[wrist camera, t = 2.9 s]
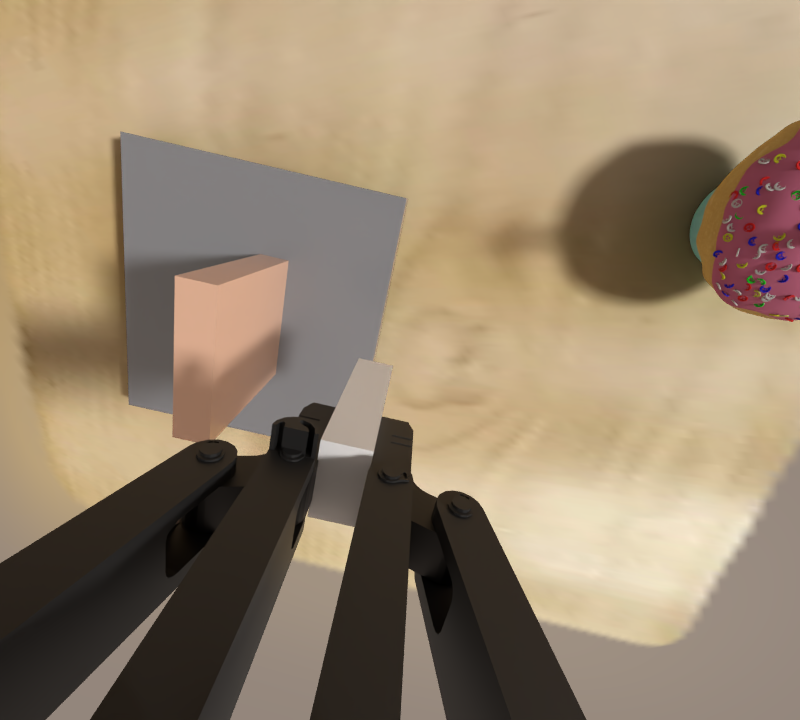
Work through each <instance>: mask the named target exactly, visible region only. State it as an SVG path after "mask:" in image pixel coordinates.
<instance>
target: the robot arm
mask: <svg viewBox="0 0 800 720" xmlns="http://www.w3.org/2000/svg"><path fill="white" fill-rule="evenodd" d="M392 368H393V366H392V365H387V364H383V363H379V362H374V361H370V360H365V359H361V358H359V359H358V361H357V363H356V365H355V367H354V370H353V372H352V374H351V376H350V378H349V380H348V382H347V385H346V387H345V389H344V391H343V393H342V395H341V397H340V400H339V402H338V404H337V406H336V407H332V406H328V405H323V404H319V403H314V402H313V403H311V404H309V405H308V406H306V407H304V408H303V410H302V411H301V413H300V414H299V417H284V418H281V419H278V420H276V421H275V422H274V423H273V424H272V430H271V438H270V447H269V450H268V452H267V453H266V454H263V455H258V456H237V449H236V448H235V446H234V445H232V444H230V443H229V442H226V441H222V440H204V441H199V442H196V443H194V444H192V445H190V446H188V447H187V448H185V449H183V450H182V451H180V452H179V453H177V454H175V455H174V456H172V457H170V458H169V459H167V460H166V461H164V462H162V463H161V464H159V465H158V466H156V467H154V468H153V469H151V470H150V471H148V472H146V473H145V474H143V475H142V476H140V477H138V478H137V479H135V480H134V481H132V482H130V483H129V484H127V485H125V486H124V487H122V488H121V489H119V490H117V491H116V492H114V493H113V494H111V495H109V496H108V497H106V498H105V499H103V500H101V501H100V502H98V503H97V504H95V505H93V506H92V507H90V508H88V509H87V510H85V511H84V512H82V513H81V514H79V515H77V516H76V517H74V518H72V519H71V520H69V521H68V522H66V523H65V524H63V525H61V526H60V527H58V528H56V529H55V530H53V531H51V532H50V533H48V534H47V535H45V536H43V537H42V538H40V539H39V540H37V541H35V542H34V543H32V544H31V545H29V546H28V547H26V548H24V549H23V550H21V551H19V552H18V553H16V554H14V555H13V556H11V557H10V558H8V559H7V560H5V561H3V562H2V563H0V720H46V719H47V718H48V717H49V716H50V715H51V714H52V713H53V712H54V711H55V710H56V709H57V708H58V707H59V706H60V705H61V703H63V702H64V700H66V699H67V698H68V697H69V696H70V695H71V694H72V692H74V691H75V689H77V688H78V687H79V685H80V684H82V682H83V681H85V679H86V678H87V677H88V676H89V675H90V674H91V673H92V672H93V671H94V670H95V669H96V668H97V667H98V666H99V665H100V664H101V663H102V662H103V661H104V660H105V659H106V658H107V657H108V656H109V655H110V654H111V653H112V652H113V651H114V650H115V649H116V648H117V647H118V646H119V645H120V644H121V643H122V642H123V641H124V640H125V639H126V638H127V637H128V636H129V635H130V634H131V633H132V632H133V631H134V630H135V629H136V628H137V627H138V626H139V625H140V624H141V623H142V622H143V621H144V620H145V619H146V618H147V617H148V616H149V615H150V614H151V613H152V612H153V611H154V610H155V609H156V608H157V607H158V606H159V605H160V604H161V603H162V602H163V601H164V600H165V599H166V598H167V597H168V596H169V595H170V594H171V593H172V592H173V591H174V590H175V589H176V588H177V587H178V588H177V589H176V591H175V592H174V594H173V595H172V597H171V598H170V600H169V601H168V603H167V604H166V606H165V607H164V609H163V610H162V612H161V613H160V615H159V616H158V618H157V619H156V621H155V622H154V624H153V625H152V627H151V628H150V630H149V631H148V633H147V634H146V636H145V637H144V639H143V640H142V642H141V643H140V645H139V646H138V648H137V649H136V651H135V652H134V654H133V656H132V657H131V659H130V660H129V662H128V663H127V665H126V666H125V668H124V669H123V671H122V672H121V674H120V675H119V677H118V678H117V680H116V682H115V683H114V684H113V686H112V687H111V689H110V690H109V692H108V694H107V695H106V696H105V698H104V700H103V701H102V703H101V704H100V705H99V707H98V708H97V710H96V712H95V713H94V714H93V716H92V718H91V719H90V720H230V718H231V716H232V713H233V710H234V708H235V705H236V702H237V700H238V697H239V695H240V692H241V689H242V687H243V684H244V682H245V679H246V676H247V674H248V671H249V669H250V666H251V664H252V661H253V659H254V656H255V653H256V651H257V648H258V646H259V643H260V640H261V638H262V635H263V633H264V630H265V627H266V625H267V622H268V620H269V617H270V615H271V612H272V609H273V607H274V604H275V602H276V599H277V596H278V593H279V591H280V589H281V586H282V583H283V581H284V578H285V576H286V573H287V570H288V568H289V565H290V563H291V560H292V558H293V555H294V552H295V550H296V547H297V545H298V542H299V539H300V537H301V534H302V532H303V528H304V522H305V516H306V514H307V511H308V509H309V512H308V517H312V518H317V519H321V520H326V521H330V522H335V523H339V524H344V525H348V526H353V527H355V528H354V533H353V537H352V541H351V546H350V550H349V554H348V558H347V563H346V567H345V571H344V576H343V580H342V585H341V589H340V593H339V597H338V601H337V606H336V610H335V614H334V619H333V623H332V627H331V632H330V635H329V640H328V644H327V648H326V653H325V657H324V661H323V666H322V670H321V674H320V679H319V683H318V687H317V691H316V695H315V700H314V704H313V708H312V713H311V717H310V720H400V714H401V695H402V677H403V659H404V642H405V640H404V639H405V624H406V623H405V622H406V605H407V587H408V569H411V570H413V571H415V582H416V587H417V591H418V596H419V600H420V604H421V608H422V613H423V618H424V622H425V626H426V631H427V635H428V640H429V644H430V648H431V653H432V657H433V662H434V666H435V670H436V675H437V679H438V684H439V688H440V693H441V697H442V701H443V706H444V710H445V714H446V719H447V720H586V718H585V716H584V714H583V712H582V710H581V708H580V706H579V704H578V702H577V700H576V698H575V696H574V693H573V691H572V689H571V688H570V685H569V683H568V681H567V679H566V677H565V675H564V673H563V671H562V669H561V667H560V665H559V663H558V661H557V659H556V657H555V655H554V653H553V651H552V649H551V647H550V645H549V642H548V640H547V638H546V637H545V635H544V632H543V630H542V628H541V626H540V624H539V622H538V620H537V618H536V616H535V614H534V612H533V610H532V608H531V606H530V604H529V602H528V600H527V598H526V596H525V594H524V591H523V589H522V587H521V585H520V583H519V581H518V579H517V577H516V575H515V573H514V571H513V569H512V567H511V565H510V563H509V561H508V559H507V557H506V555H505V553H504V551H503V549H502V547H501V545H500V543H499V540H498V538H497V536H496V534H495V532H494V530H493V528H492V526H491V524H490V522H489V520H488V518H487V516H486V514H485V512H484V510H483V508H482V507H481V505H480V504H479V503H478V502H477V501H476V500H475V499H474V498H472V497H471V496H469V495H467V494H465V493H462V492H458V491H445V492H443V493H441V494H439V496H438V498H436V497H434V496H432V495H430V494H428V493H426V492H424V491H422V490H421V489H420V488H419V487H418V486H417V485H416V484H415V483H414V482H413V477H412V474H411V460H412V444H413V430H412V428H411V426H410V425H409V423H408V422H404V421H399V420H395V419H390V418H386V417H382V413H383V409H384V404H385V400H386V395H387V391H388V386H389V382H390V377H391V373H392Z"/></svg>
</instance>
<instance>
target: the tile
mask: <svg viewBox="0 0 800 720" xmlns="http://www.w3.org/2000/svg"><path fill="white" fill-rule="evenodd" d="M288 262H289V261H288V260H284V259H280V258H275V257H271V256H267V255H262V254H259V255H255V256H251V257H247V258H243V259H239V260H235V261H231V262H227V263H223V264H219V265H215V266H211V267H207V268H203V269H199V270H195V271H191V272H187V273H183V274H179V275H176V276H175V298H174V370H173V437H175V438H180V439H184V440H189V441H193V442H199V441H204V440H215V438H216V437H217V436H218V435H219V434H220V433H221V432H222V431H223V430H224V429H225V428H226V427H227V426H228V425H229V423H230V422H231V421H232V420H233V419H234V418H235V417H236V416H237V415H238V414H239V413H240V412H241V411H242V410H243V409H244V407H245V406H246V405H247V404H248V403H249V402H250V401H251V400H252V399H253V398H254V397H255V396H256V395H257V394H258V392H259V391H260V390H261V389H262V388H263V387H264V386H265V385H266V384H267V383H268V382H269V381H270V380H271V379H272V377H273V376H274V375H275V374H276V367H277V358H278V349H279V341H280V332H281V323H282V314H283V306H284V297H285V288H286V279H287V271H288Z"/></svg>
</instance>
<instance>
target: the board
mask: <svg viewBox="0 0 800 720" xmlns="http://www.w3.org/2000/svg"><path fill="white" fill-rule="evenodd" d="M120 134H121V166H122V199H123V231H124V263H125V296H126V328H127V360H128V393H129V405H133V406H137V407H142V408H146V409H151V410H155V411H160V412H164V413H169V414H173V370H174V298H175V276H176V275H179V274H183V273H187V272H191V271H195V270H199V269H203V268H207V267H211V266H215V265H219V264H223V263H227V262H231V261H235V260H239V259H243V258H247V257H251V256H255V255H259V254H262V255H267V256H271V257H275V258H280V259H284V260H288V261H289V262H288V271H287V279H286V288H285V297H284V306H283V314H282V323H281V332H280V341H279V349H278V358H277V367H276V374H275V375H274V376H273V377H272V379H271V380H270V381H269V382H268V383H267V384H266V385H265V386H264V387H263V388H262V389H261V390H260V391H259V392H258V394H257V395H256V396H255V397H254V398H253V399H252V400H251V401H250V402H249V403H248V404H247V405H246V406H245V407H244V409H243V410H242V411H241V412H240V413H239V414H238V415H237V416H236V417H235V418H234V419H233V420H232V421H231V422H230V423H229V425H228V426H227V427H232V428H236V429H241V430H245V431H250V432H254V433H258V434H263V435H267V436H271V430H272V424H273V423H274V422H275V421H276V420H278V419H281V418H284V417H299V414H300V413H301V411H302V410H303V408H304V407H306V406H308V405H309V404H311V403H313V402H314V403H319V404H323V405H328V406H332V407H336V406H337V404H338V402H339V400H340V397H341V395H342V393H343V391H344V389H345V387H346V385H347V382H348V380H349V378H350V376H351V374H352V372H353V370H354V367H355V365H356V363H357V361H358V359H359V358H361V359H365V360H370V361H374V360H375V355H376V350H377V345H378V341H379V336H380V331H381V326H382V321H383V317H384V312H385V307H386V302H387V297H388V293H389V288H390V283H391V278H392V273H393V269H394V264H395V259H396V254H397V249H398V245H399V240H400V235H401V230H402V226H403V221H404V216H405V211H406V206H407V202H408V199H407V198H403V197H398V196H394V195H390V194H385V193H381V192H377V191H373V190H368V189H364V188H360V187H356V186H351V185H347V184H343V183H338V182H334V181H330V180H326V179H321V178H317V177H313V176H308V175H304V174H300V173H296V172H291V171H287V170H283V169H279V168H274V167H270V166H266V165H261V164H257V163H253V162H249V161H244V160H240V159H236V158H231V157H227V156H223V155H219V154H214V153H210V152H206V151H202V150H197V149H193V148H189V147H184V146H180V145H176V144H172V143H167V142H163V141H159V140H155V139H150V138H146V137H142V136H137V135H133V134H129V133H125V132H120Z"/></svg>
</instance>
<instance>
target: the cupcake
mask: <svg viewBox="0 0 800 720" xmlns="http://www.w3.org/2000/svg"><path fill="white" fill-rule="evenodd" d="M690 244H691V247H692V250H693V252H694V254H695V256H696V257H697V258H698V259H699V260H700V261H701V262H702V272H703V276H704V278H705V280H706V281H707V282H708V284H709V285H711V286H712V287H713V288H714V289H715V291H716V293H717V294H718V295H719V297H720V298H721V299H722V300H723V301H724V302H726V303H727V304H729V305H731V306H732V307H734V308H736V309H738V310H740V311H742V312H746V313H749V314H753V315H757V316H761V317H765V318H770V319H779V320H785V321H791V322H793V320H800V121H797V122H794V123H792V124H790V125H788V126H787V127H785V128H784V129H783V130H781V131H780V132H779V133H777V134H776V135H775V136H773V137H772V138H771V139H769V140H768V141H766V142H765V143H764V144H762V145H761V146H760V147H758V148H757V149H756V150H755V151H753V152H752V153H751V154H750V155H749V156H748V157H746V158H745V159H744V160H743V161H742V162H741V163H740V164H738V165H737V166H736V167H735V168H734V169H733V170H732V171H731V172H730V173H729V174H728V175H727V176H726V178H725V179H724V180H723V181H722V182H721V184H720V185H719V186H718V187H717V188H716V189H714V190H713V191H712V192H711V193H710V194H709V195H708V196H707V197H706V198H705V199H704V200H703V201H702V203H701V204H700V206H699V207H698V209H697V210H696V212H695V214H694V217H693V219H692V222H691V227H690Z"/></svg>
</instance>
